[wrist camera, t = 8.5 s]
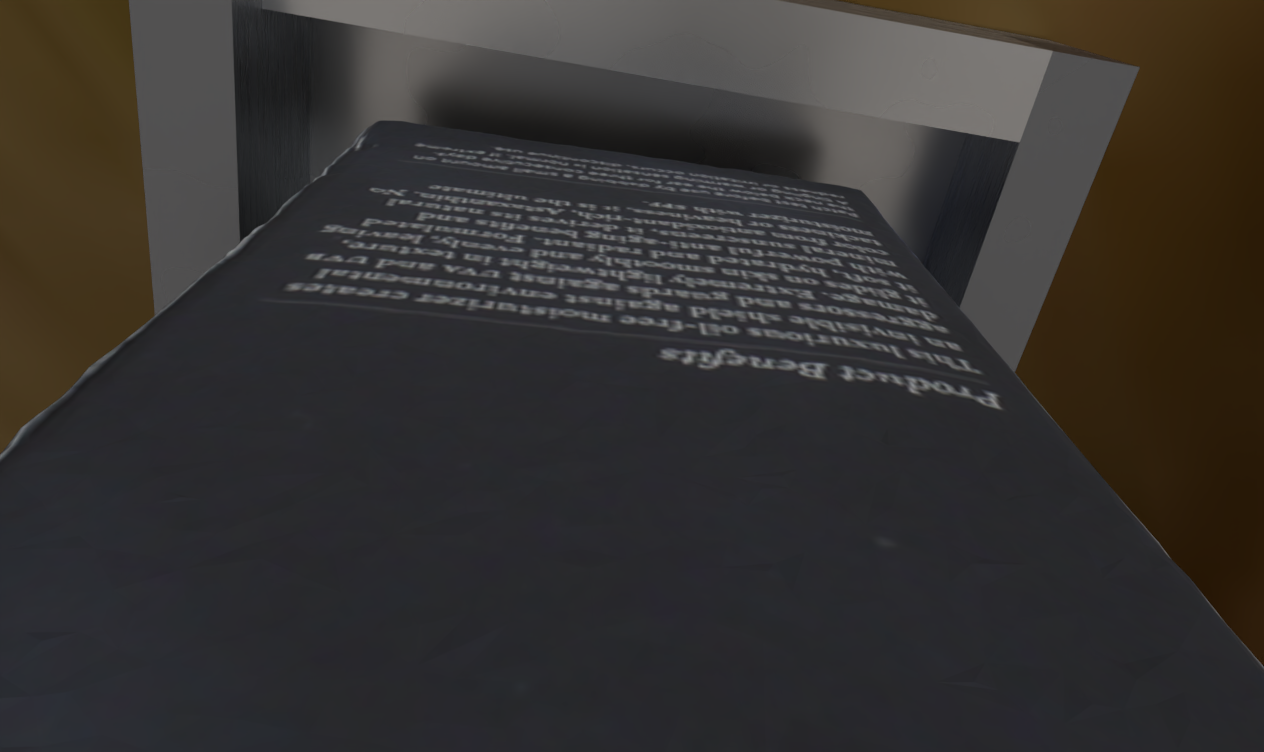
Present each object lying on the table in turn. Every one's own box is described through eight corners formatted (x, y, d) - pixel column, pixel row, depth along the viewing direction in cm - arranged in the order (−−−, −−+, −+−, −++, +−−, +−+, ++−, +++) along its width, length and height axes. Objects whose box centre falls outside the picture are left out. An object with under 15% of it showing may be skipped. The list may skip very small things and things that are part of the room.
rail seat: (1049, 40, 12) (1178, 79, 9) (785, 773, 18) (812, 928, 16) (251, -109, 11) (118, -118, 8) (270, 710, 18) (199, 862, 15)
